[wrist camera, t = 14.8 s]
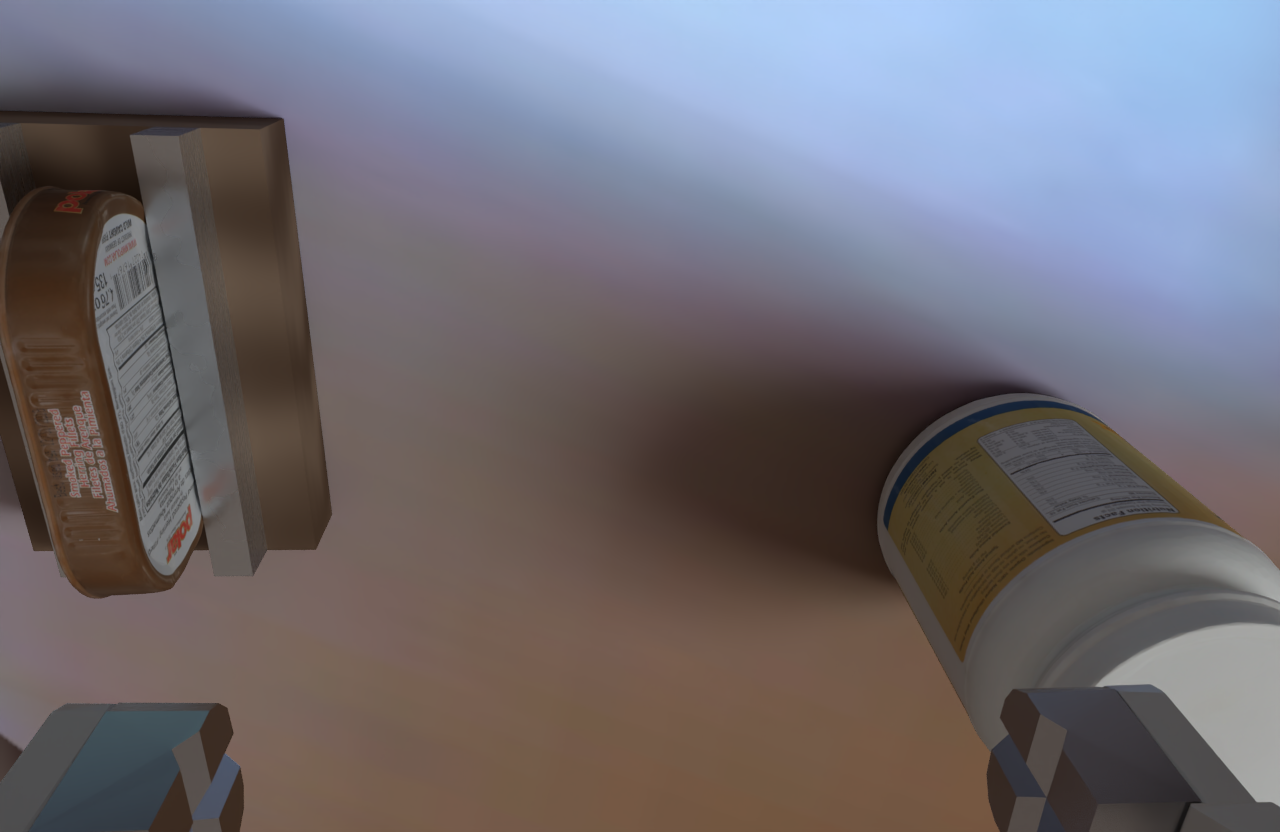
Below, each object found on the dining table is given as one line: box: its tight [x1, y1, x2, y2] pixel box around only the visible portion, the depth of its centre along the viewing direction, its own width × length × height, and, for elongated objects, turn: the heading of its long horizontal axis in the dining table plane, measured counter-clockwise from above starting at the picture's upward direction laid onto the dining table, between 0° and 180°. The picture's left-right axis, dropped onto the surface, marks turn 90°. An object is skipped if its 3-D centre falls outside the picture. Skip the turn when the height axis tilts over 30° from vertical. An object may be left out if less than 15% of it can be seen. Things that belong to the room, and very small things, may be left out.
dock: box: [0, 111, 332, 577], centre depth 37 cm, size 18×12×5 cm, turn 178°
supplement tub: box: [877, 393, 1280, 807], centre depth 38 cm, size 12×12×17 cm
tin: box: [0, 186, 204, 598], centre depth 33 cm, size 15×3×8 cm, turn 178°
